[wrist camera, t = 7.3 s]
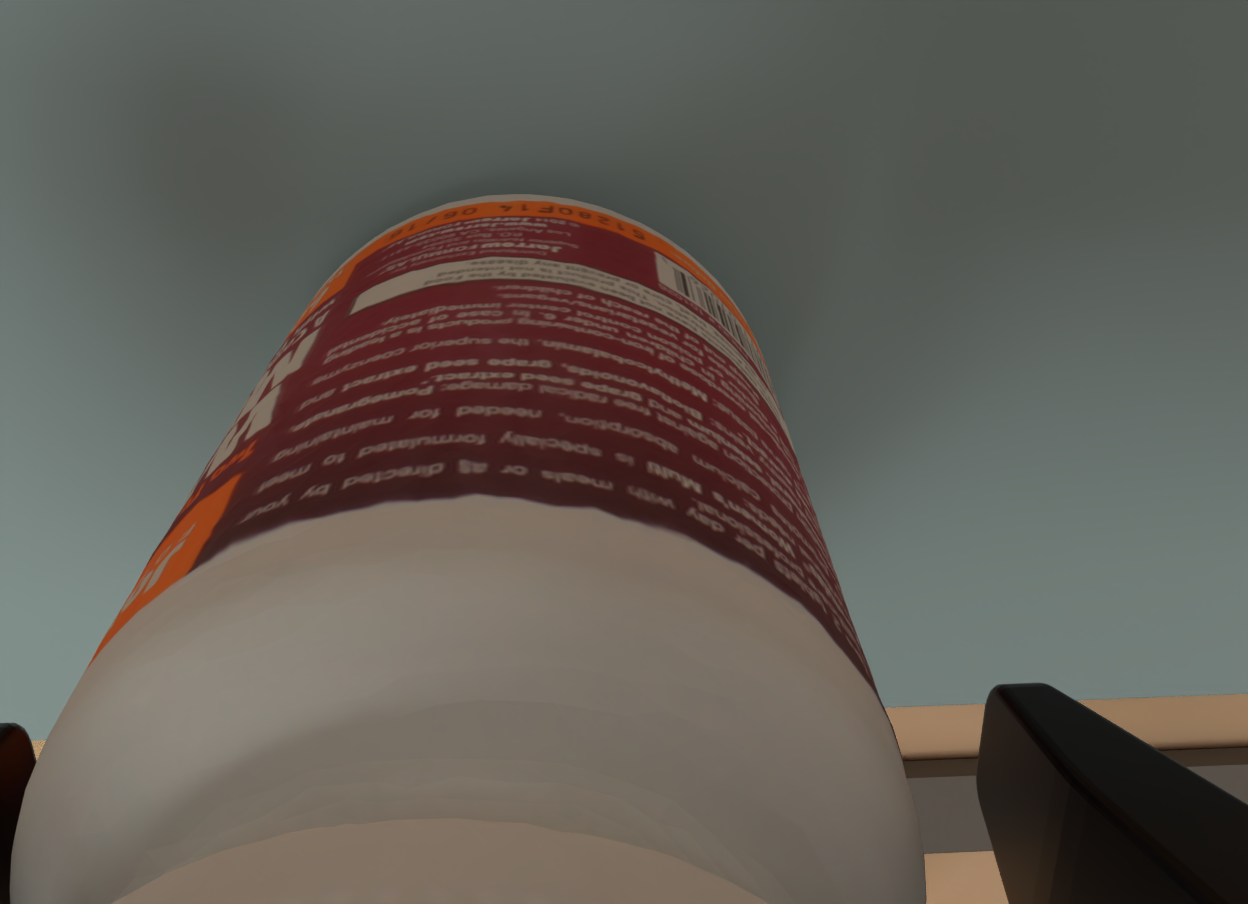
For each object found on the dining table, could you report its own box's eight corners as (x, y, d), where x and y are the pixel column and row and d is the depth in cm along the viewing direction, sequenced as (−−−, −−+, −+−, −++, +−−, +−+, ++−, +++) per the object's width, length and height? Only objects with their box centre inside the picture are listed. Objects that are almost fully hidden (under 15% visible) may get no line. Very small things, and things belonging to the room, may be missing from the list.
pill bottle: (261, 176, 14) (-665, 1088, 4) (792, 186, 14) (1316, 1076, 4) (312, 618, 17) (-130, 1829, 6) (752, 621, 17) (997, 1800, 7)
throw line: (1295, 819, 19) (1309, 836, 19) (-228, 885, 18) (-245, 905, 18) (1315, 744, 19) (1330, 760, 18) (-259, 808, 18) (-276, 827, 17)
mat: (1334, 678, 18) (1346, 689, 18) (-286, 740, 17) (-300, 753, 17) (1536, -27, 14) (1555, -26, 14) (-582, -3, 13) (-606, -1, 13)
